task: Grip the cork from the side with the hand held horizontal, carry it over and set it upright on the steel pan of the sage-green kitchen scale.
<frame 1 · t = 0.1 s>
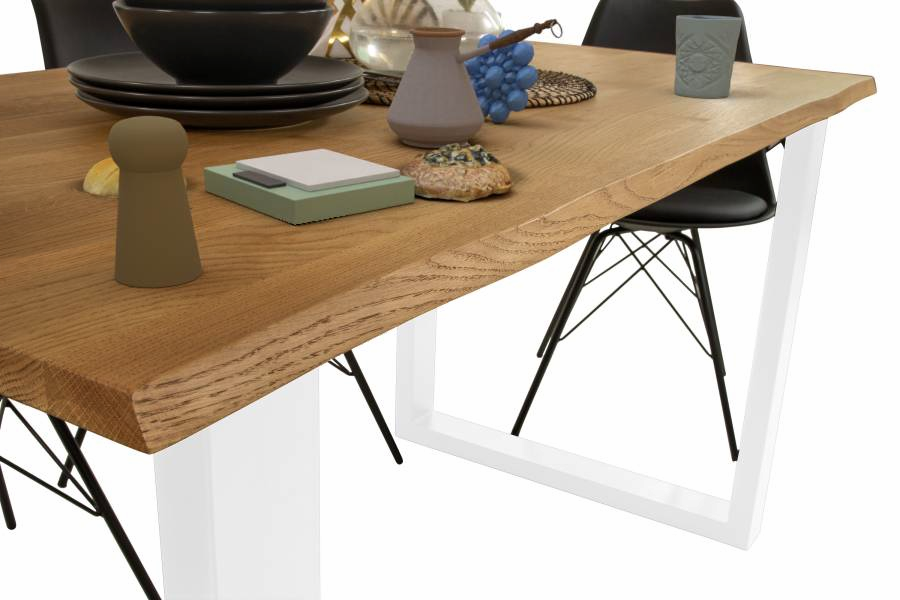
coffee pot: (470, 149, 116), on the table
grapes: (501, 123, 133), on the table
cork: (159, 276, 71), on the table
grey embossed vase: (700, 95, 161), on the table
bread roll: (137, 202, 90), on the table
scale: (308, 196, 93), on the table
bread roll 2: (456, 191, 97), on the table
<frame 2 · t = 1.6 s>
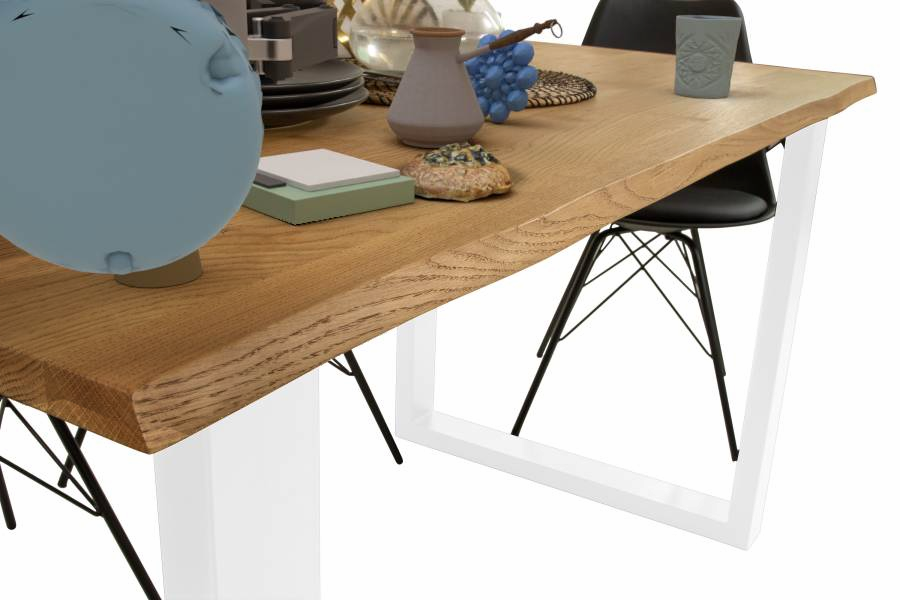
hand: (135, 21, 56), 18 cm above the table, tool horizontal, fingers open, 13 cm apart
nothing on the table moved.
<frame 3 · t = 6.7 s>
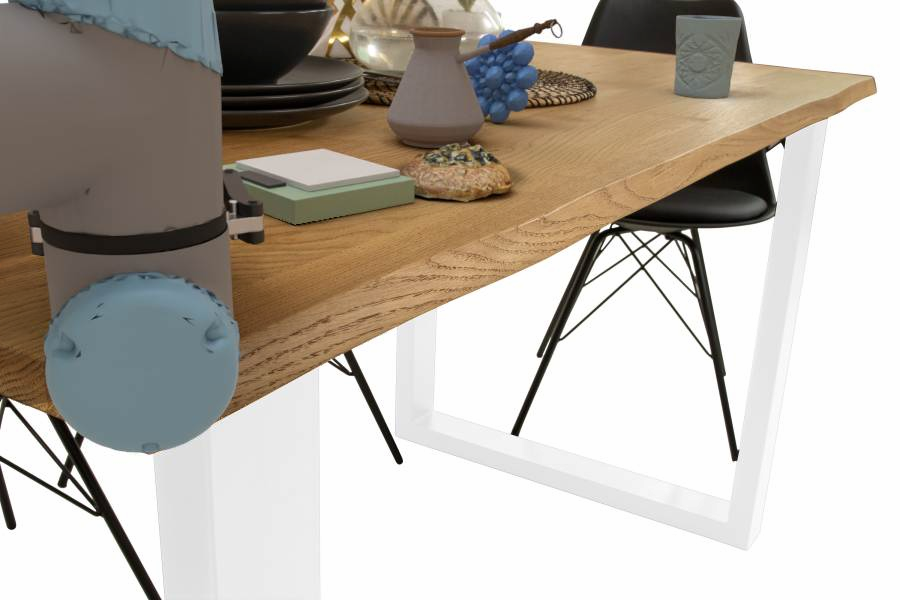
hand: (152, 166, 74), 7 cm above the table, tool horizontal, fingers closed on cork, 4 cm apart
cork: (159, 276, 71), on the table, touching gripper
everything else where it was.
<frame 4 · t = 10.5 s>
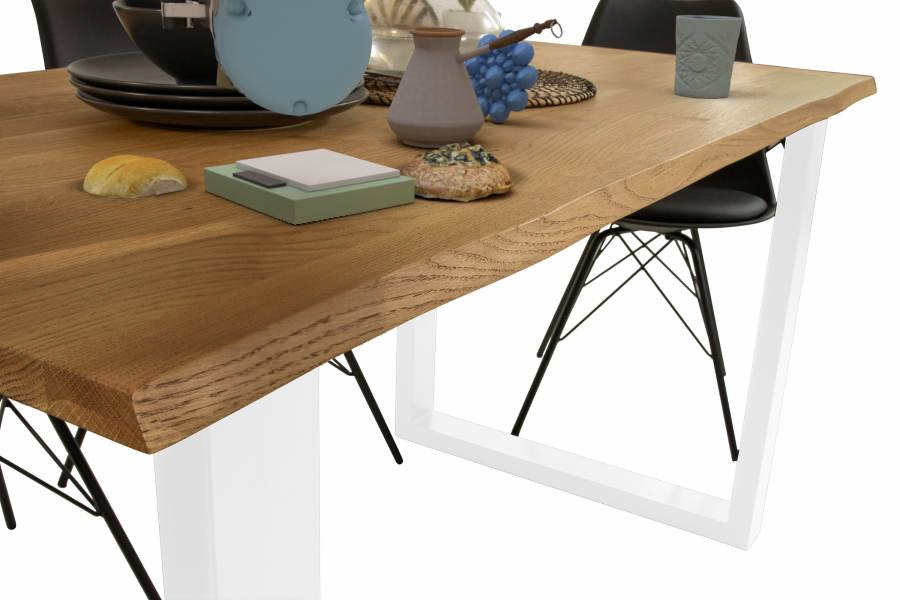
cork: (255, 86, 80), point 11 cm above the table, touching gripper
everything else where it was.
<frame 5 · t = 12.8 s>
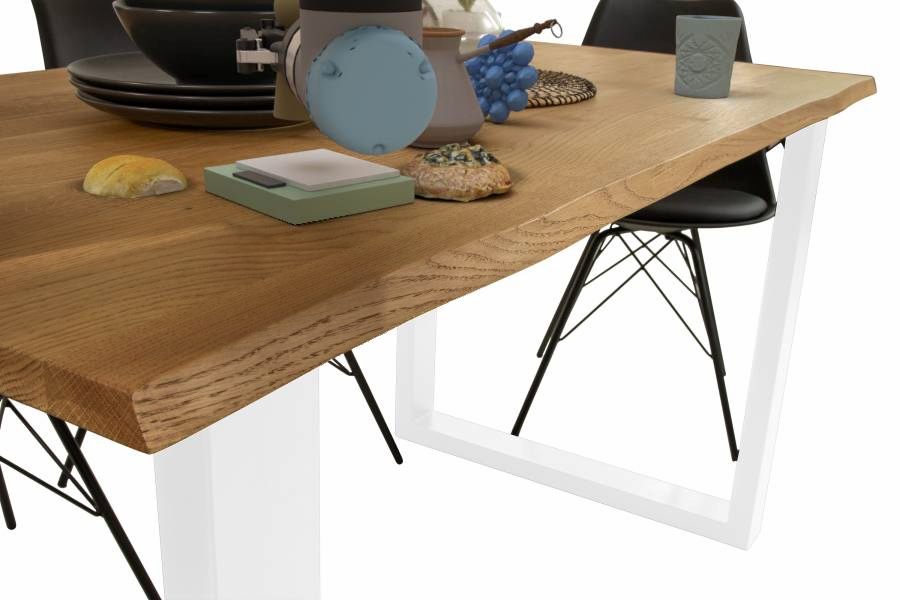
hand: (297, 35, 93), 14 cm above the table, tool horizontal, fingers closed on cork, 4 cm apart
cork: (307, 117, 90), point 7 cm above the table, touching gripper
everything else where it was.
when the fingers open (9 cm above the table, at t = 14.4 s): cork stays where it is, resting on scale.
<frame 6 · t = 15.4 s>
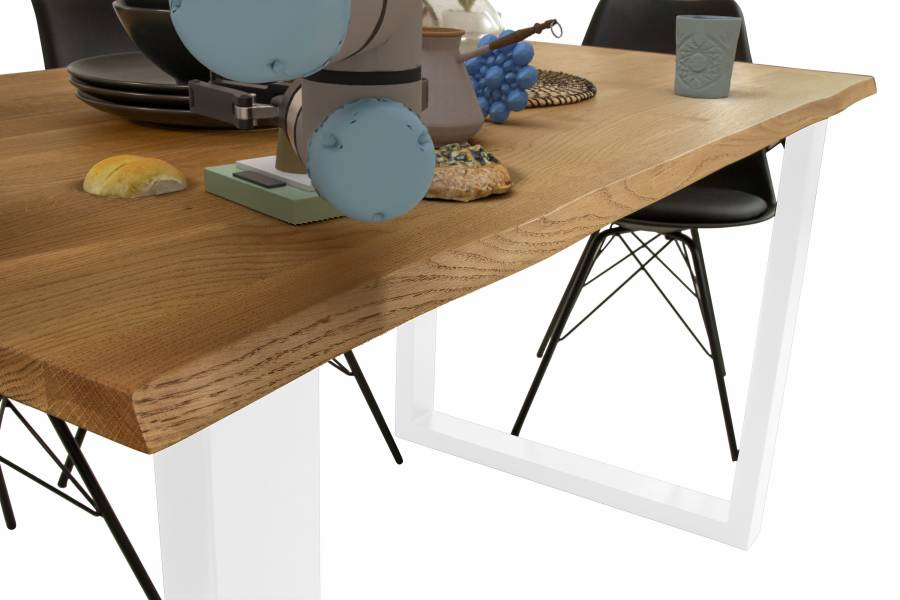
hand: (300, 81, 92), 10 cm above the table, tool horizontal, fingers open, 13 cm apart
cork: (308, 168, 92), point 3 cm above the table, touching scale
everything else where it was.
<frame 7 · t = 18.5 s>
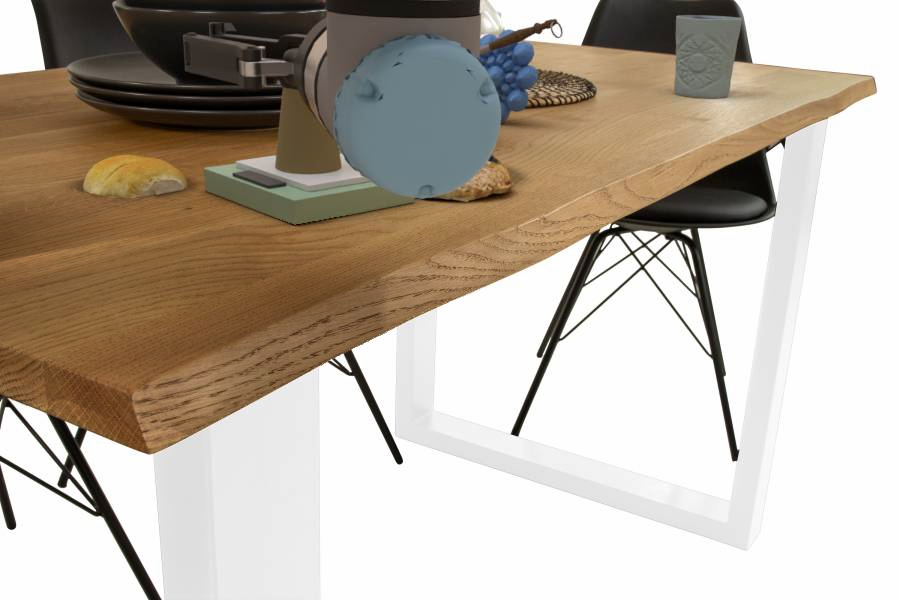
hand: (315, 41, 78), 15 cm above the table, tool horizontal, fingers open, 13 cm apart
nothing on the table moved.
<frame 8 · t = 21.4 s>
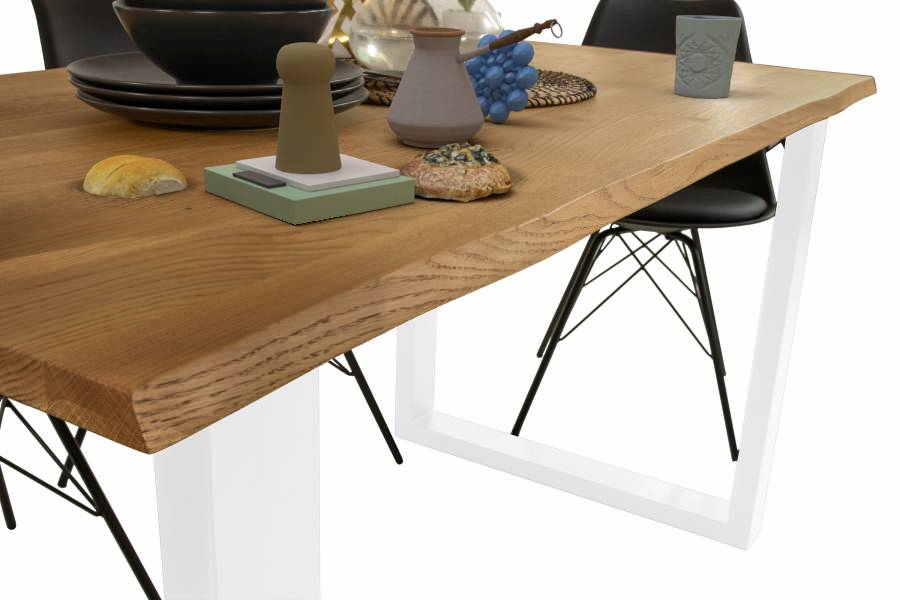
nothing on the table moved.
at the end: cork inside the target area on the scale (0.8 cm from its centre), point 2.6 cm above the scale's base; cork tilted 0° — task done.
